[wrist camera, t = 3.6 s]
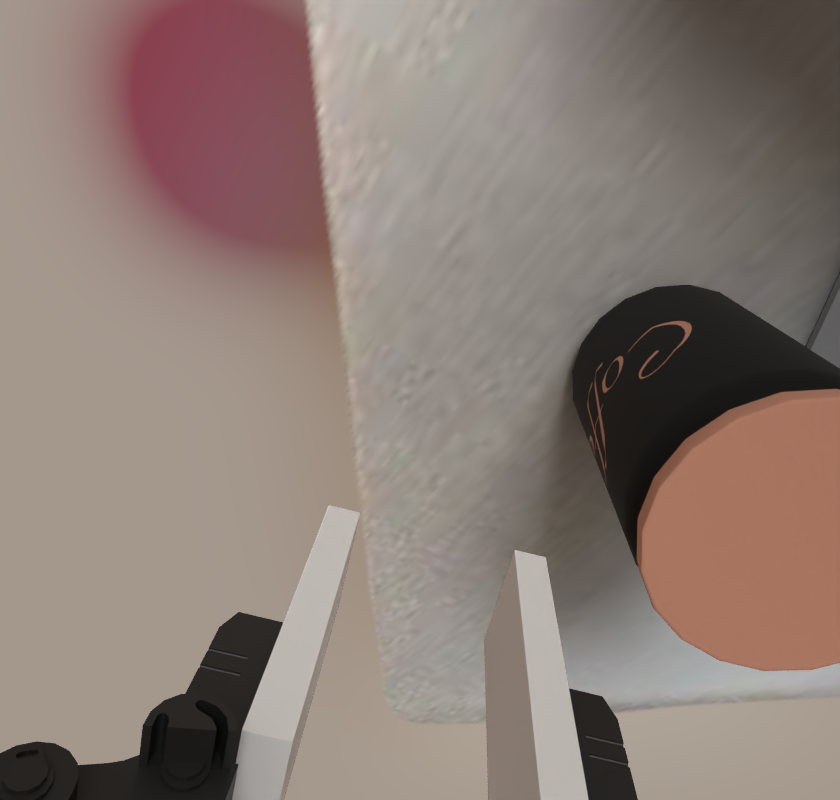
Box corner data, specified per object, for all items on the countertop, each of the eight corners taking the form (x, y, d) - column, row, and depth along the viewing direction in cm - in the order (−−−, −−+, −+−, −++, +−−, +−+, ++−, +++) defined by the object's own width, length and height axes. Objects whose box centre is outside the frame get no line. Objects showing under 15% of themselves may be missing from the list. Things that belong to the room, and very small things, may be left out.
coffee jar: (623, 249, 37) (746, 342, 21) (797, 324, 38) (1054, 472, 21) (537, 417, 41) (583, 610, 24) (698, 481, 42) (849, 712, 25)
